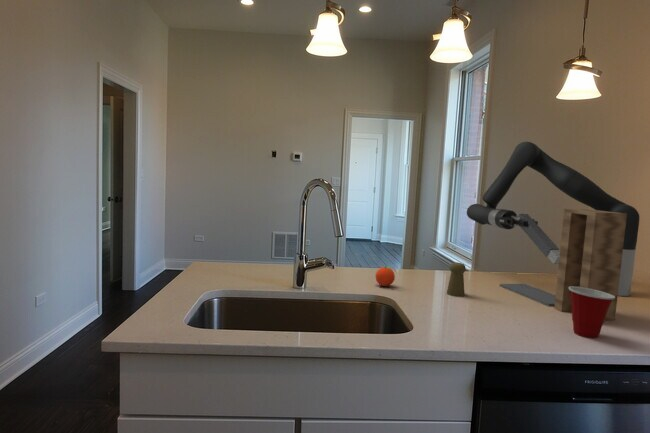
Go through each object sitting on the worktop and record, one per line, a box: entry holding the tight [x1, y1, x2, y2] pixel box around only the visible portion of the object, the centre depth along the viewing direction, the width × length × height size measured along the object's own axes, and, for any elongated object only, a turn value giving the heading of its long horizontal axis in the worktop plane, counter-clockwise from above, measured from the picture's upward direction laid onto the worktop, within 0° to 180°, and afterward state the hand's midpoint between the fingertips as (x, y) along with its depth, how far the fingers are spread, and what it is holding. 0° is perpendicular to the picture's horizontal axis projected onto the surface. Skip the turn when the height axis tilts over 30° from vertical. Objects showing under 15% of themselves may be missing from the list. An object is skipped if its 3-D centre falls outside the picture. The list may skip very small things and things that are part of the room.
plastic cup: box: [569, 286, 615, 339], centre depth 118 cm, size 11×11×12 cm
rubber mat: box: [499, 283, 556, 307], centre depth 158 cm, size 11×26×1 cm, turn 14°
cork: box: [446, 262, 467, 298], centre depth 154 cm, size 6×6×11 cm
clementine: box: [375, 266, 397, 287], centre depth 161 cm, size 8×7×7 cm
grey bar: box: [517, 213, 560, 265], centre depth 157 cm, size 4×24×4 cm
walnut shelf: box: [553, 208, 627, 321], centre depth 136 cm, size 11×12×32 cm
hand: (531, 224), depth 161 cm, fingers closed on grey bar, 3 cm apart
